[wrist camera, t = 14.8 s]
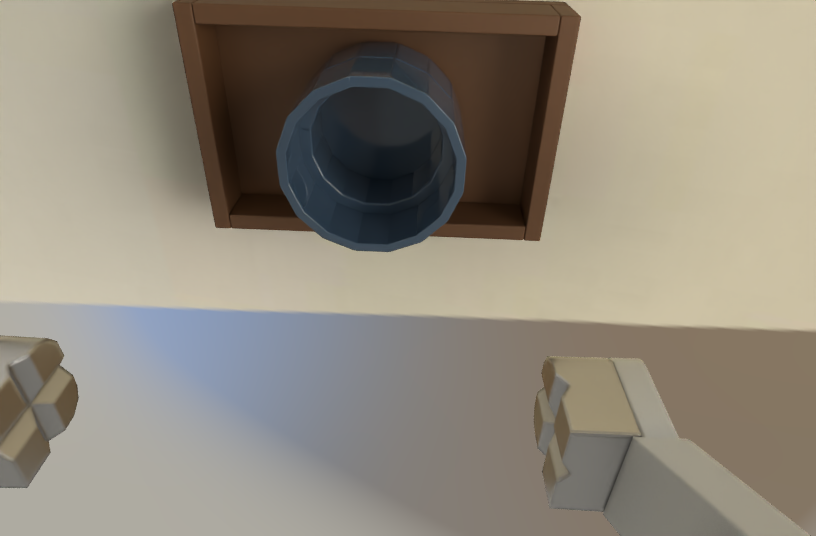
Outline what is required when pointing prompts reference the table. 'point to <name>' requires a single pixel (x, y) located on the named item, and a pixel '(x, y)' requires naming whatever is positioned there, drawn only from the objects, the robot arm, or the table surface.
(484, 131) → the tray
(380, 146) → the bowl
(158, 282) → the table surface
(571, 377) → the robot arm
